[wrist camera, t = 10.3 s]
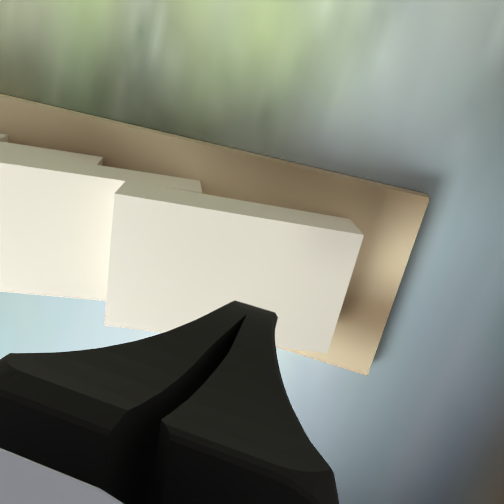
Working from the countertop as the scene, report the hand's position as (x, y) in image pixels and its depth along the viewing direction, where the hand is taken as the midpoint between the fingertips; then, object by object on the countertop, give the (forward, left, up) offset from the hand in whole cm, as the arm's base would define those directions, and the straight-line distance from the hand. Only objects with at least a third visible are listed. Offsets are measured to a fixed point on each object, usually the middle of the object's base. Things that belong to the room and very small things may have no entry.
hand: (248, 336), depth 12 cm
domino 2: (0, -2, -5) cm, 6 cm away
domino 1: (0, +4, -5) cm, 7 cm away
